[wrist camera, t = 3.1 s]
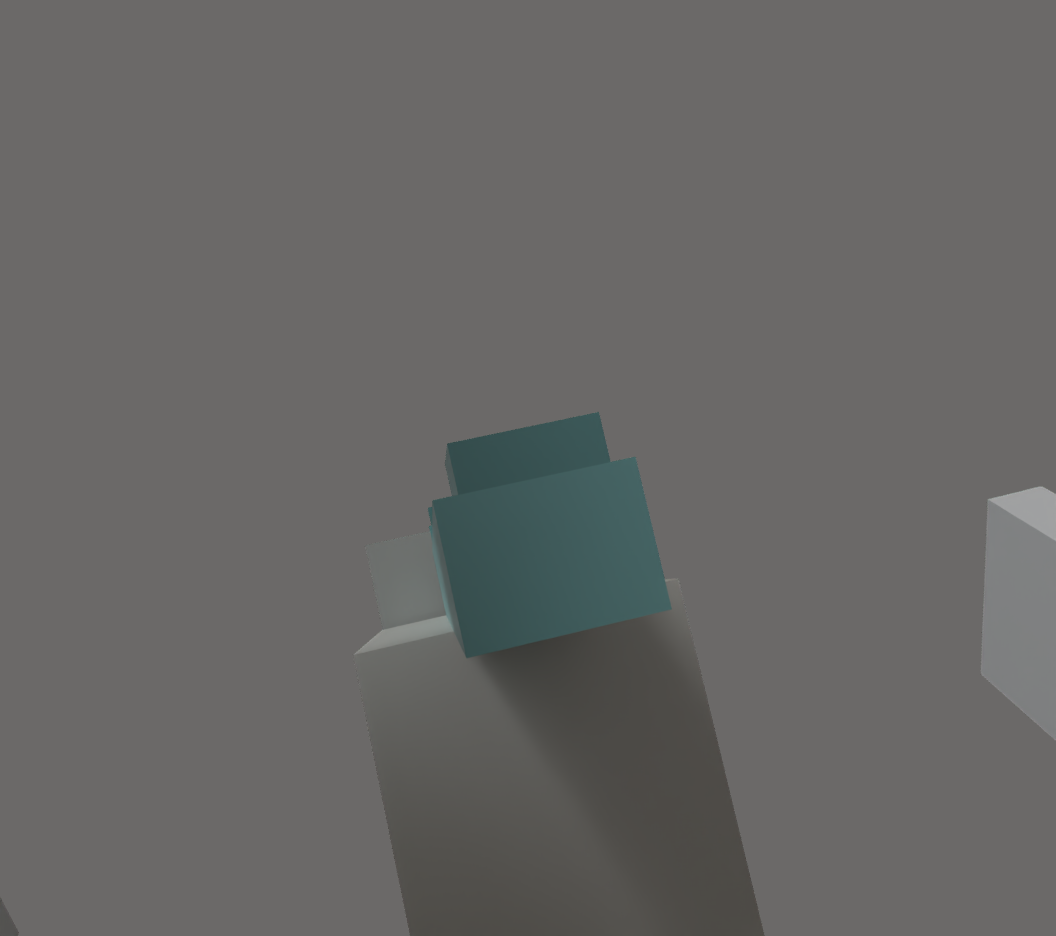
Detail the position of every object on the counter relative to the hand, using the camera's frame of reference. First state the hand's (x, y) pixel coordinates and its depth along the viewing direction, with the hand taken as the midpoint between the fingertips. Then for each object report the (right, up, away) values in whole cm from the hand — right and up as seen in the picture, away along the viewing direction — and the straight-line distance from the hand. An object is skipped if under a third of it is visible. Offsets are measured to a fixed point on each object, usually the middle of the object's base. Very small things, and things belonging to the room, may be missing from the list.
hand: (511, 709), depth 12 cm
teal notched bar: (0, -2, +19) cm, 19 cm away
